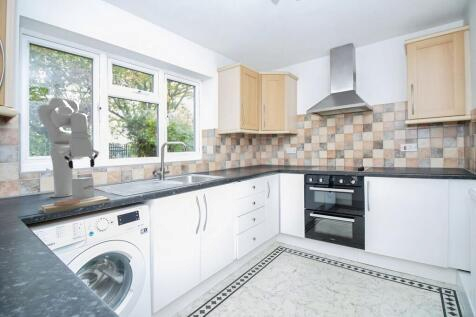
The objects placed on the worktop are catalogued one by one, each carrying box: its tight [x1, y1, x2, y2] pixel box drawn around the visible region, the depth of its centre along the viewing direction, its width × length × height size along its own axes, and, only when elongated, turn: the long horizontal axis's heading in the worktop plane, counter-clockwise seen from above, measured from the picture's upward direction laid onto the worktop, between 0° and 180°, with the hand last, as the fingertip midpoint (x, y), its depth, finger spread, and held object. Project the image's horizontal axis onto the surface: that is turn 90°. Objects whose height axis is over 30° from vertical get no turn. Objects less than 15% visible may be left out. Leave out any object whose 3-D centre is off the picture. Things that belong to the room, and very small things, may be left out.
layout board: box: [40, 195, 111, 215], centre depth 115 cm, size 11×26×3 cm, turn 139°
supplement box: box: [71, 176, 95, 200], centre depth 127 cm, size 7×7×13 cm
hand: (82, 167), depth 126 cm, fingers open, 9 cm apart
